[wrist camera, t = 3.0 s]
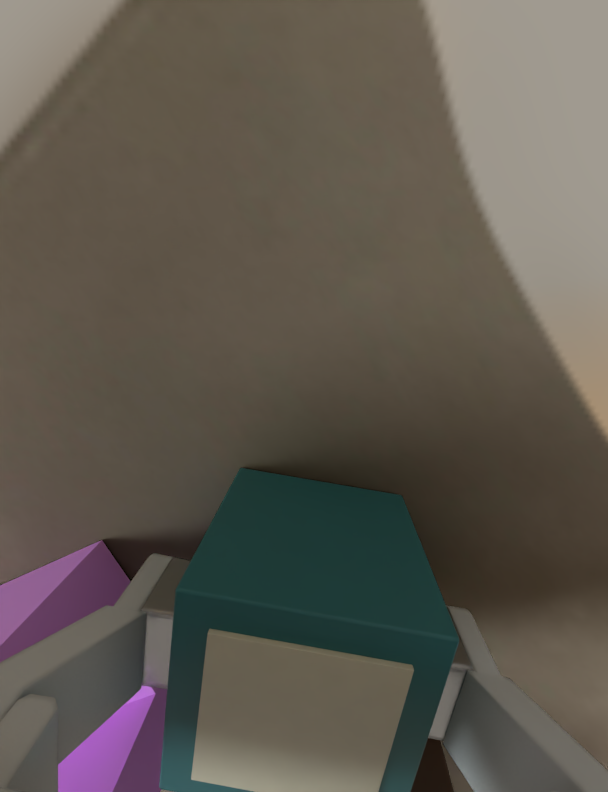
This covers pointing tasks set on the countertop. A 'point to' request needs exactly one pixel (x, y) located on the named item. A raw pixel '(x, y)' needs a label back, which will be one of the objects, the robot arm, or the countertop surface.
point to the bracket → (58, 608)
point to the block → (432, 770)
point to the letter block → (304, 644)
